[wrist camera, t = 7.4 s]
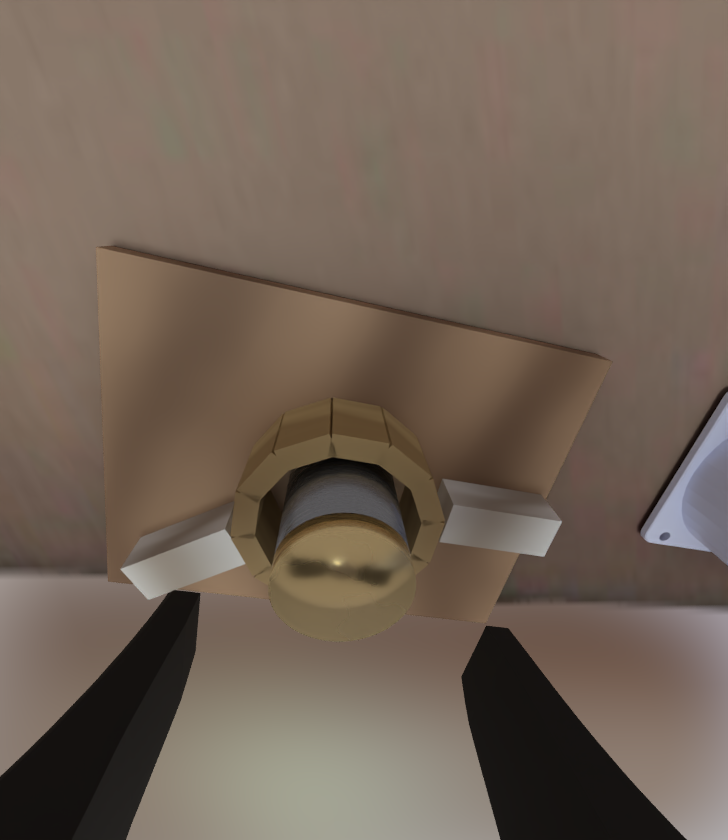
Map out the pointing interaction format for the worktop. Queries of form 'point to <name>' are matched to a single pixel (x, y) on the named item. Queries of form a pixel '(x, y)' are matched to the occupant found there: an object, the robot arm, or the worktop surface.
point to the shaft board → (302, 352)
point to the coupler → (341, 552)
